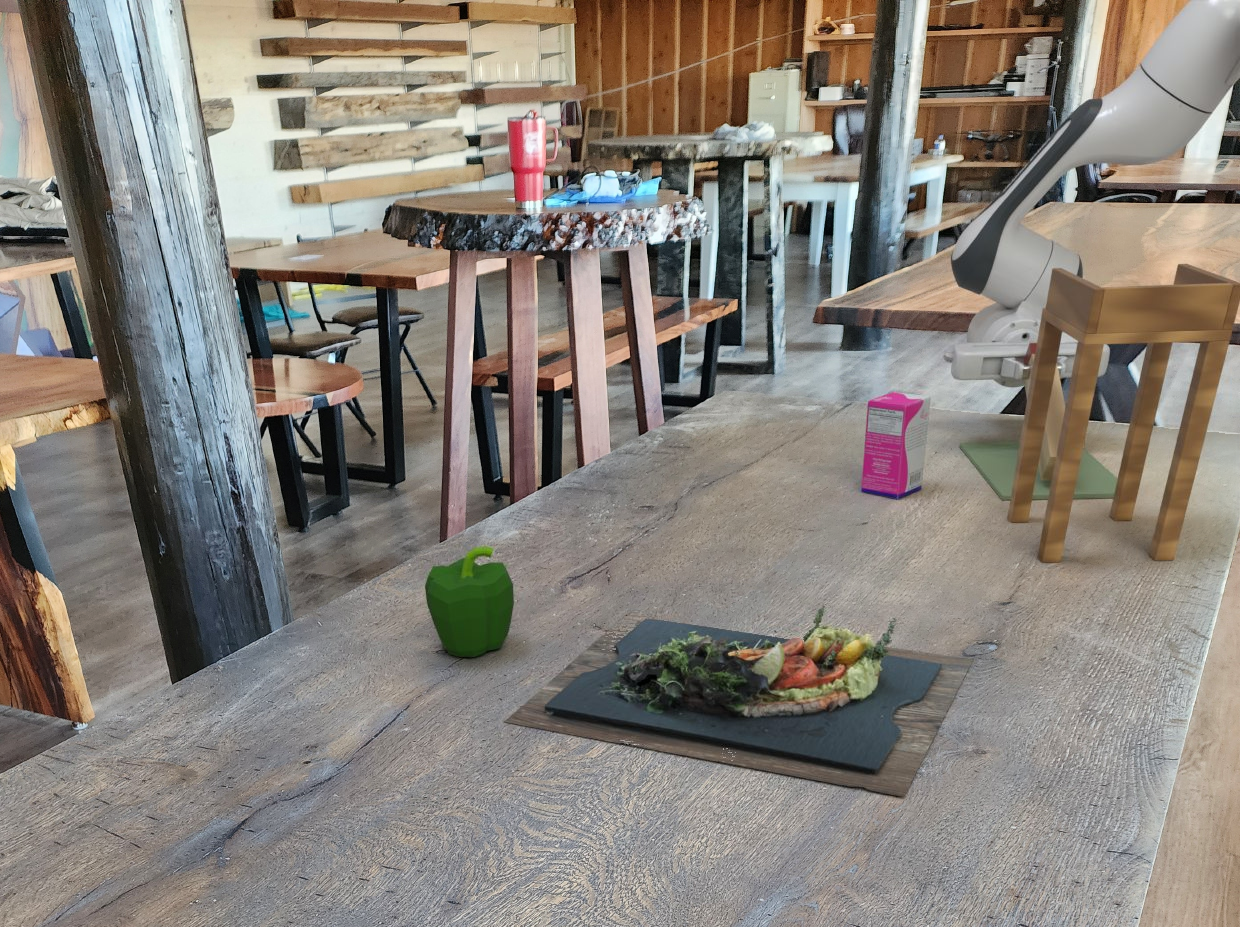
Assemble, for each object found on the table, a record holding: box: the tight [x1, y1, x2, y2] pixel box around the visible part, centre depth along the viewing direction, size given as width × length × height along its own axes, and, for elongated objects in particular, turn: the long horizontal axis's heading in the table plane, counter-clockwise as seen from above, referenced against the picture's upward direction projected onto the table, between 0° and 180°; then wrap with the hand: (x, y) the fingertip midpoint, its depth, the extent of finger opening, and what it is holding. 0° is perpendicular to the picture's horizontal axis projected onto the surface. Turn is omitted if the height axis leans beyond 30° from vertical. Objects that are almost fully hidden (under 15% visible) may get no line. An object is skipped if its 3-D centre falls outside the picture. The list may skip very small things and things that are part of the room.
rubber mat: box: [959, 440, 1118, 501], centre depth 157 cm, size 16×26×1 cm, turn 176°
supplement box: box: [860, 391, 932, 500], centre depth 149 cm, size 6×6×12 cm
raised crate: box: [1006, 263, 1240, 563], centre depth 127 cm, size 14×16×27 cm
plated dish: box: [503, 604, 974, 798], centre depth 103 cm, size 35×28×7 cm
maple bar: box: [1023, 343, 1066, 481], centre depth 151 cm, size 3×20×4 cm
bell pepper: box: [424, 545, 515, 658], centre depth 112 cm, size 8×8×10 cm
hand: (1042, 372), depth 154 cm, fingers closed on maple bar, 3 cm apart
